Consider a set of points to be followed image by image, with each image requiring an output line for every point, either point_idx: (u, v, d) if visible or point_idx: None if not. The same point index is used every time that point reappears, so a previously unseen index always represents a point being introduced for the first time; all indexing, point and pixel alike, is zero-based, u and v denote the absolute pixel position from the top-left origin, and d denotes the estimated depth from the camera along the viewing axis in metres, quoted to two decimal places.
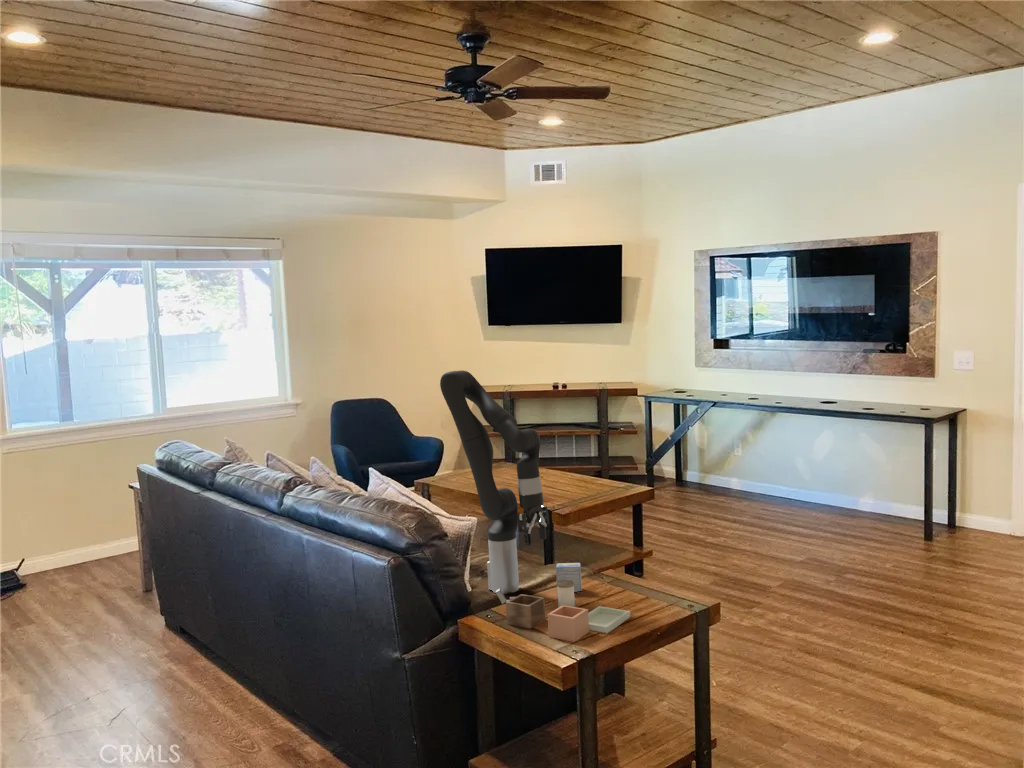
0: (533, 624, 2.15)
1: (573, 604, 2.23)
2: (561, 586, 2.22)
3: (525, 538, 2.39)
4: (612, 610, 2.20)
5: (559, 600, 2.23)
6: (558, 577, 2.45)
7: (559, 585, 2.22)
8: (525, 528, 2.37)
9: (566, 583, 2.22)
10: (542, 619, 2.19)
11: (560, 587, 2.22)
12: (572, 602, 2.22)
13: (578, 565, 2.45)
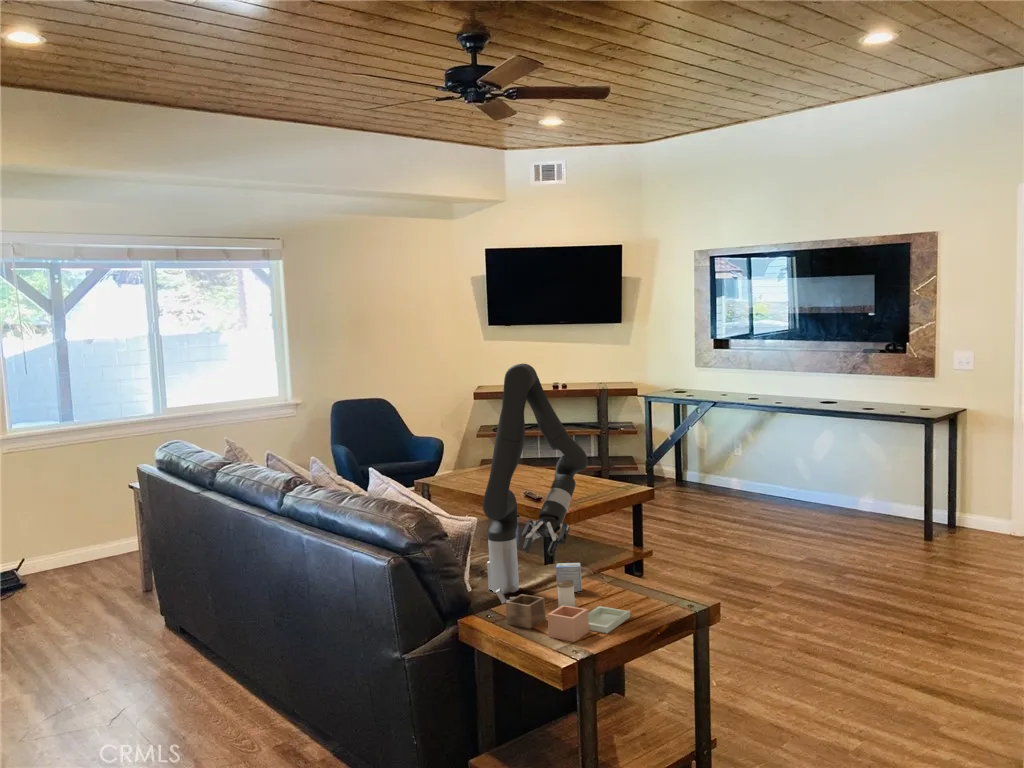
0: (533, 624, 2.15)
1: (573, 604, 2.23)
2: (561, 586, 2.22)
3: (555, 546, 2.23)
4: (612, 610, 2.20)
5: (559, 600, 2.23)
6: (558, 577, 2.45)
7: (559, 585, 2.22)
8: None
9: (566, 583, 2.22)
10: (542, 619, 2.19)
11: (560, 587, 2.22)
12: (572, 602, 2.22)
13: (578, 565, 2.45)
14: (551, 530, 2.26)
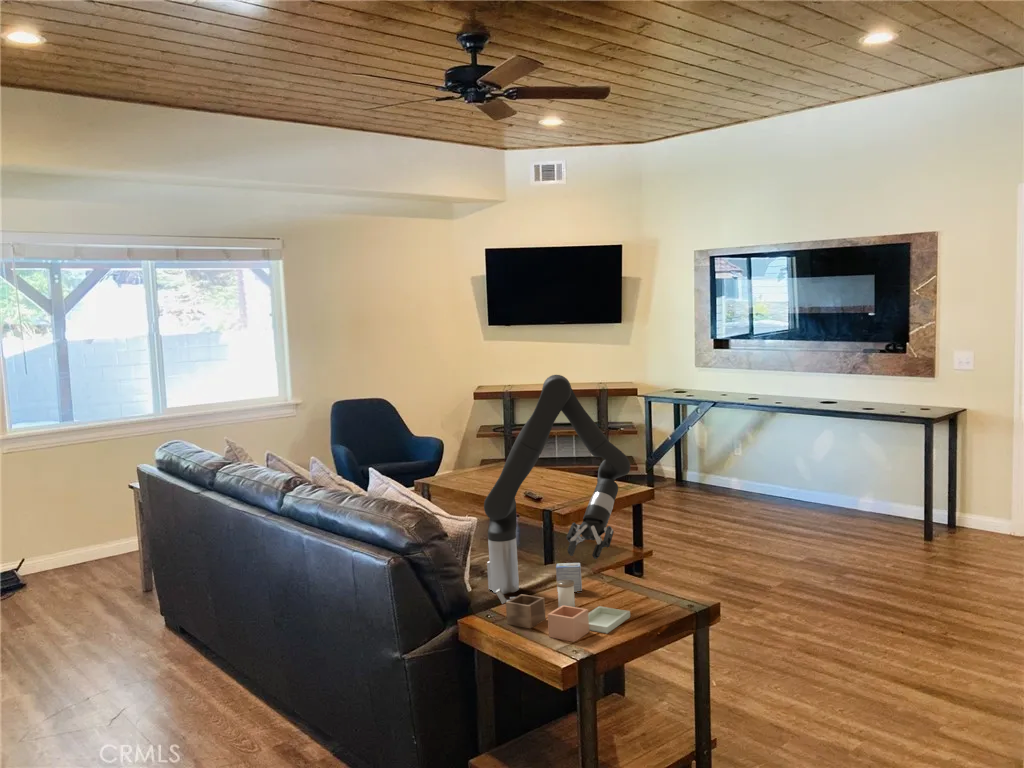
0: (533, 624, 2.15)
1: (573, 604, 2.23)
2: (561, 586, 2.22)
3: (599, 550, 2.27)
4: (612, 610, 2.20)
5: (559, 600, 2.23)
6: (558, 577, 2.45)
7: (559, 585, 2.22)
8: None
9: (566, 583, 2.22)
10: (542, 619, 2.19)
11: (560, 587, 2.22)
12: (572, 602, 2.22)
13: (578, 565, 2.45)
14: (595, 534, 2.30)
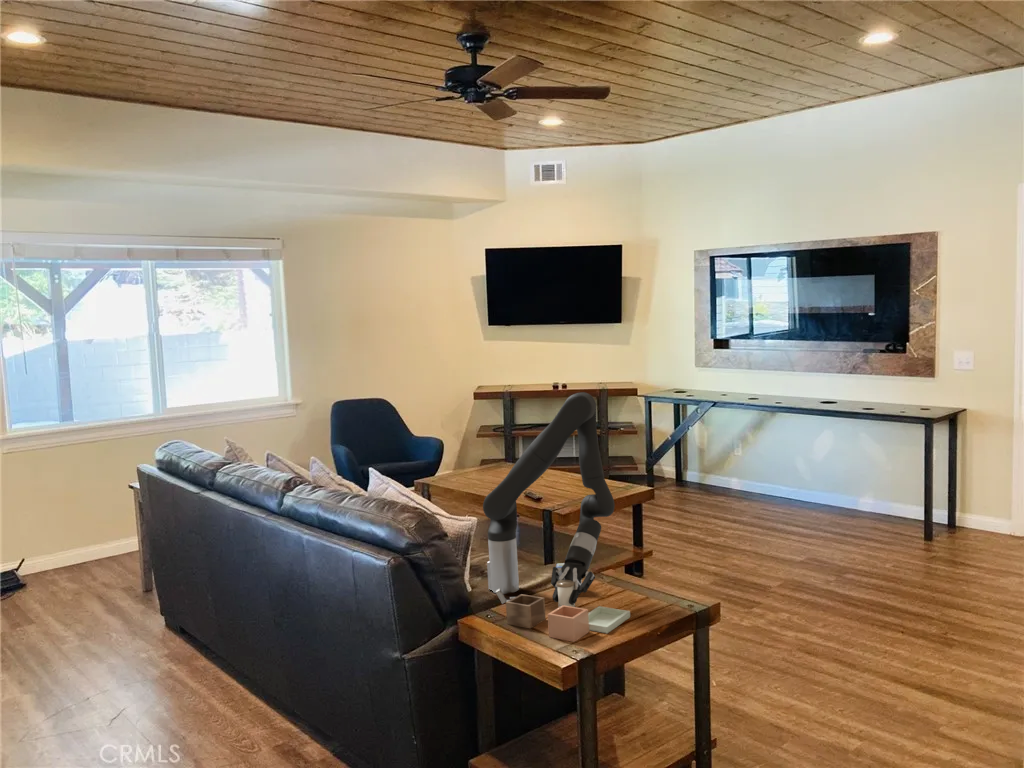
0: (533, 624, 2.15)
1: None
2: (561, 586, 2.22)
3: (576, 596, 2.21)
4: (612, 610, 2.20)
5: (559, 600, 2.23)
6: None
7: (559, 585, 2.22)
8: None
9: (566, 583, 2.22)
10: (542, 619, 2.19)
11: (560, 587, 2.22)
12: None
13: None
14: (575, 578, 2.24)
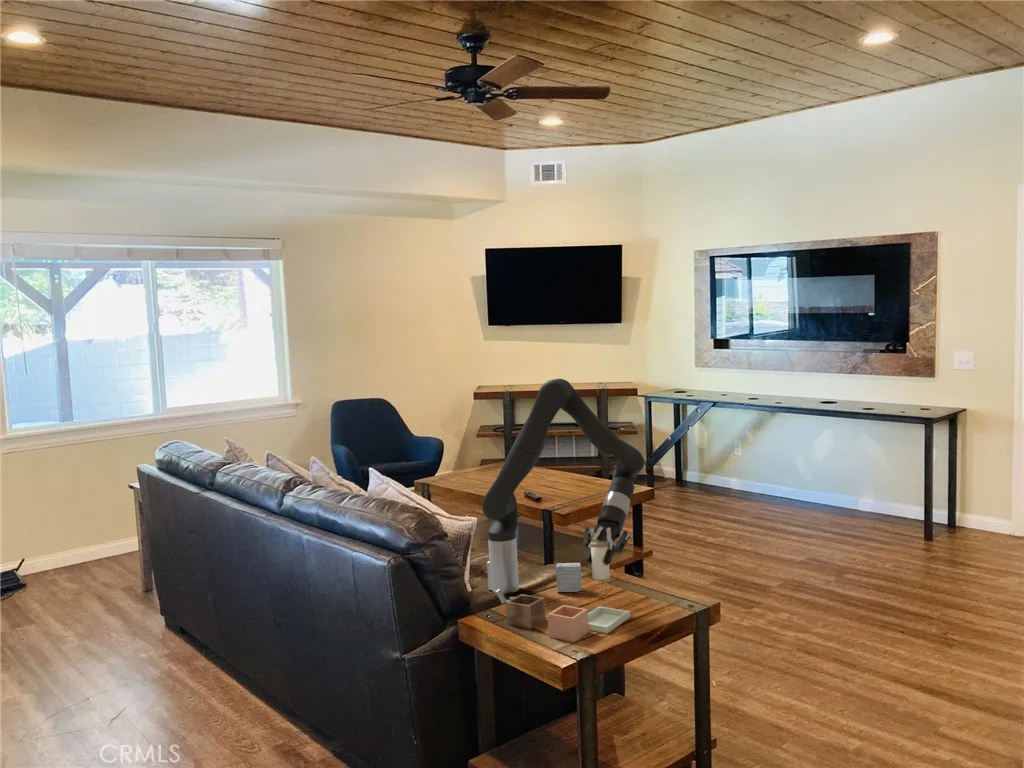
0: (533, 624, 2.15)
1: (607, 565, 2.13)
2: (595, 546, 2.12)
3: (611, 556, 2.12)
4: (612, 610, 2.20)
5: (593, 561, 2.13)
6: (558, 577, 2.45)
7: (593, 545, 2.12)
8: None
9: (600, 543, 2.12)
10: (542, 619, 2.19)
11: (594, 547, 2.12)
12: None
13: (578, 565, 2.45)
14: (609, 537, 2.14)
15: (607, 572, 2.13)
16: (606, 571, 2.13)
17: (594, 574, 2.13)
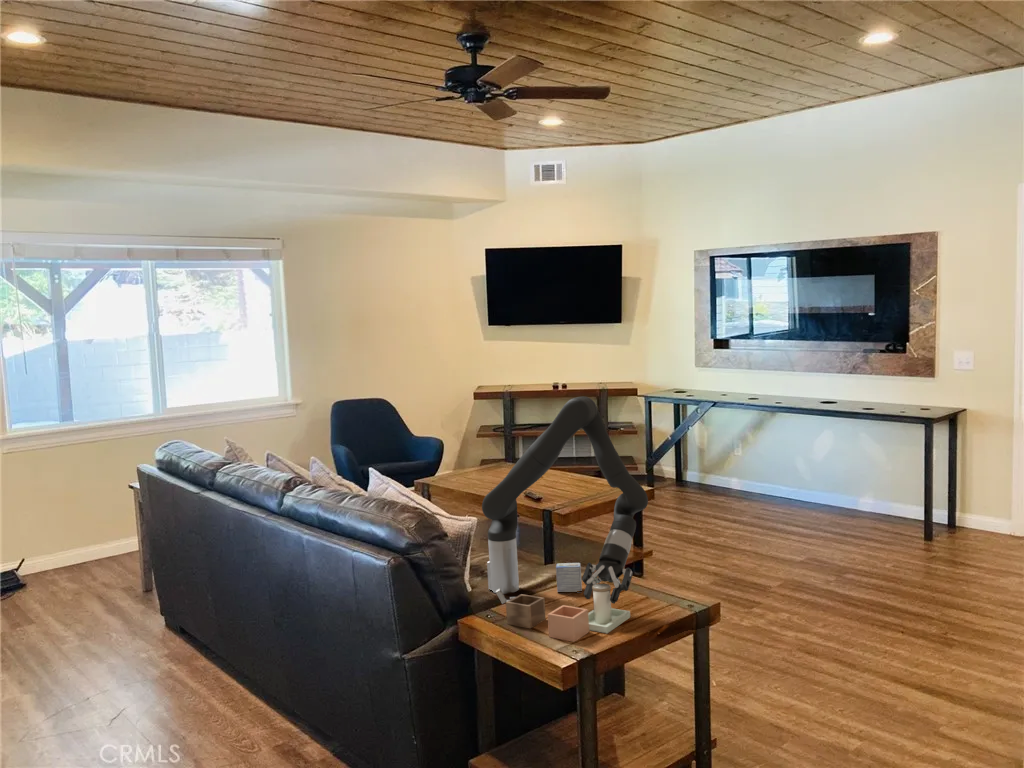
0: (533, 624, 2.15)
1: (609, 609, 2.14)
2: (597, 590, 2.13)
3: (617, 594, 2.12)
4: (612, 610, 2.20)
5: (595, 605, 2.14)
6: (558, 577, 2.45)
7: (595, 589, 2.13)
8: None
9: (602, 588, 2.13)
10: (542, 619, 2.19)
11: (596, 591, 2.13)
12: (609, 607, 2.13)
13: (578, 565, 2.45)
14: (613, 576, 2.15)
15: (609, 617, 2.13)
16: (608, 615, 2.13)
17: (596, 618, 2.14)
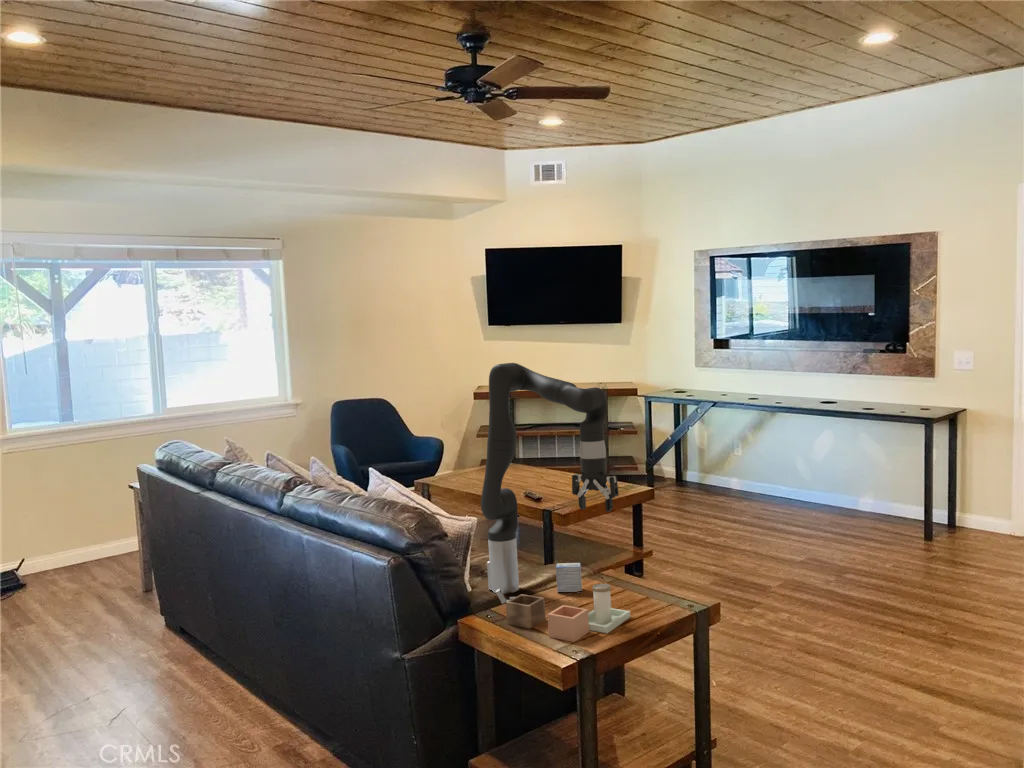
0: (533, 624, 2.15)
1: (610, 609, 2.14)
2: (597, 590, 2.13)
3: (611, 503, 2.22)
4: (612, 610, 2.20)
5: (595, 605, 2.14)
6: (558, 577, 2.45)
7: (595, 589, 2.13)
8: None
9: (602, 588, 2.13)
10: (542, 619, 2.19)
11: (596, 591, 2.13)
12: (609, 607, 2.13)
13: (578, 565, 2.45)
14: (601, 488, 2.22)
15: (609, 617, 2.13)
16: (608, 615, 2.13)
17: (596, 618, 2.14)
